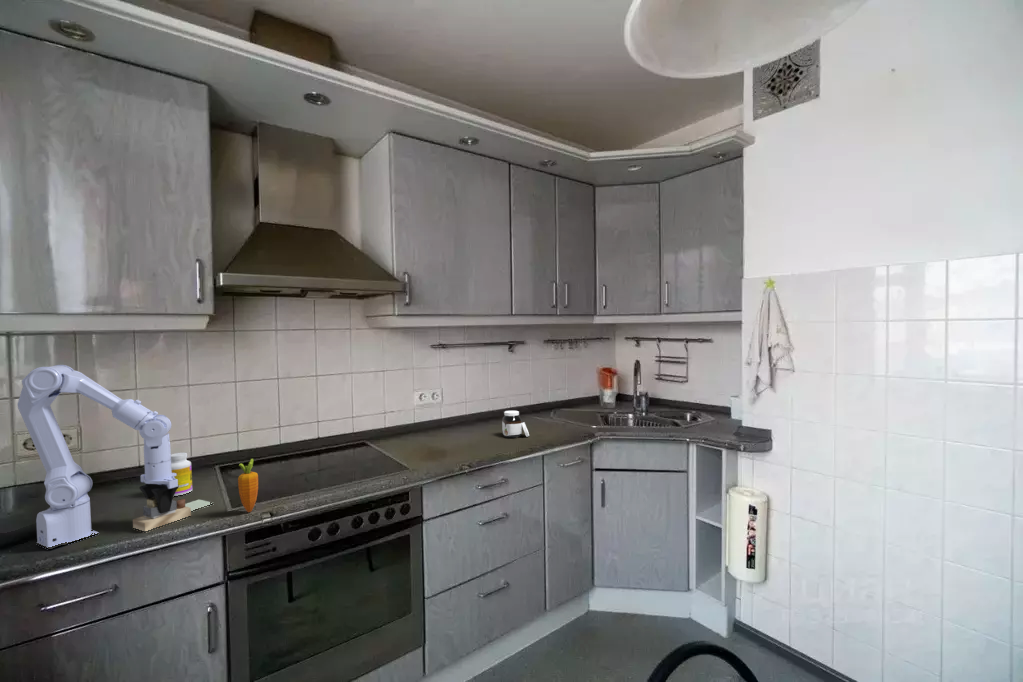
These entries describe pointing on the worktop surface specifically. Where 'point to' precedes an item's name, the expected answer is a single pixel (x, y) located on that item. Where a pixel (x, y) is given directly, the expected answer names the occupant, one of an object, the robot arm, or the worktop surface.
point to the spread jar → (513, 425)
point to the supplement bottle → (182, 473)
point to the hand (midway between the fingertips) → (160, 510)
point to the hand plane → (162, 517)
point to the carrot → (248, 486)
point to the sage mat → (197, 504)
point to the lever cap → (155, 508)
